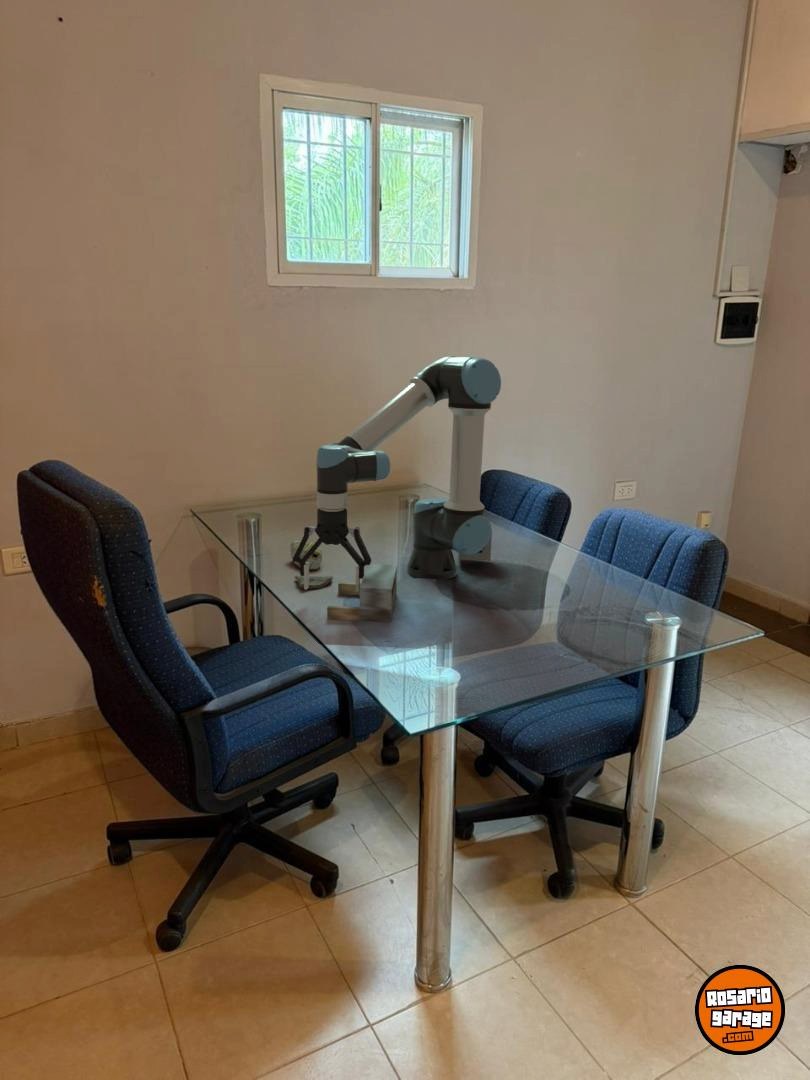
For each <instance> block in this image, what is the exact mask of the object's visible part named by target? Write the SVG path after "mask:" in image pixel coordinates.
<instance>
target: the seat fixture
mask: <svg viewBox="0 0 810 1080" xmlns="http://www.w3.org/2000/svg"><path fill="white" fill-rule="evenodd" d="M366 566H367V568H366V569H365V571H364V577H363V579H362V580H361V582H360V589H359V592H356V582H343V581H341V582H338V583H337V594H338V595H345V596H346V595H347V596H348V595H349V596H350V595H351V596H359V607H358V606H342V605H341V606H339V605H337V606H336V605H335V606H334V605H328V606H327V607H326V612H327V613H326V619H327V620H338V621H339V620H341V621H363V622H365V621H367V622H386V623H388V622H389V623H390V622H392V619H393V618H392V617H393V614H394V613H393V612H394V609H395V604H396V598H397V592H398V591H397V590H398V589H397V584H398V565H397V564H380V563H379V564H377V563H375V564H374V563H370V565H366Z"/></svg>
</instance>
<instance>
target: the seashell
mask: <svg viewBox="0 0 810 1080" xmlns="http://www.w3.org/2000/svg"><path fill="white" fill-rule="evenodd" d="M300 543H301V540H292V541H291V543H290V557H291V559H292V560H293V557H294V555H295V553H296V551H297V549H298V547H299V545H300ZM314 543H315V542H312V541H307V542H306V544H305V546H304V548H303V551H302V553H301V555H300V557H303V556H304V555H305V554H306V553H307V552H308V550H309V549H310V548H311V547H312V546H313V545H314ZM322 560H323V550H322V547H321V546H319V547H318V548H317V549H316V550H315V551H314V553H313V554H312V555H311V556H310V557H309V558H308V559H307V561H306V562H309V570H318V569H320V568H321V564H322ZM293 563H294V564H295V565H296V566H297V567H299V568H300V564H299V563H298V562H294V561H293Z"/></svg>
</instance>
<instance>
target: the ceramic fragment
mask: <svg viewBox="0 0 810 1080" xmlns="http://www.w3.org/2000/svg"><path fill="white" fill-rule="evenodd" d="M333 579H334V577H333V575H321V576H320V575H318V576H317V575H313V576H312V575H311V576H310V575H309V587H308V589H322V588H323V587H325V586H327V585H328V584H329V583H330V582H332V581H333ZM294 580H296V582H297V583H298V585H299V587H300V588H303V589H304V576H301V575H294Z"/></svg>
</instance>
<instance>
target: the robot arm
mask: <svg viewBox="0 0 810 1080" xmlns="http://www.w3.org/2000/svg"><path fill="white" fill-rule="evenodd" d="M501 386H502V379H501V374H500V371H499V369H498V368H497V367H496V366H495V364H494V362H492V361H491V360H488V359H486V358H483V357H482V358H481V357H476V356H473V357H471V356H470V357H469V356H453V355H451V356H450V355H448V356H444V357H442V358H439V359H437V360H435V361H433V362H432V363H430V364H429V365H427V366H426V367H424V368H423V369H422V370H420V371H419V372H418V373H416V375H414V376H413V377H412V378H411V379H410V380H409V385H408V386H406V387H405V388H404V389H403V390H402V391H400V392H399V393H397V395H395V396H394V397H392V399H391V400H389V401H388V402H387V403H386V404H385V405H383V406H382V407H381V408H379V410H377V411H376V412H375V413H373V414H372V415H371V416H370V417H369V418H367V419H366V420H365V421H364V422H363V423H361V424H360V425H359V426H357V427H356V428H355V429H354V430H352V432H350V433H349V434H348V435H347V436H345V437H344V438H343V439H341V440H340V441H339V442H331V443H328V444H326V445H321V446H320V447H318V449H317V451H316V452H317V455H316V463H315V465H316V507H317V509H316V526H312V525H310V524H306V526H305V527H304V529H303V537H302V538H301V540H300V541H301V543H300V545H299V547H298V549H297V551H296V553H295V555H294V557H293V559H292V561H293V563H294V562H298V563H299V564H300V567H299V576H304V588H303V589H304V590H308V589H309V588H308V587H309V576H310V569H309V562H306V561H307V559H308V558H309V557H310V556H311V555H312V554H313V553H314V551H315V550H316V549H317V548H318V547H321V545H322V543H323V544H325V545H328V546H329V545H334V546H335V545H336V546H338V545H341V547H343V549H345V551H346V552H347V553H348V554H349V555H350V557H351V558H352V560H353V561H354V562H355V564H356V566H355V583H356V592H359V589H360V583H361V579H362V580H363V577H364V575H365V566H368V565H370V564H372V558H371V555H370V554H369V551H368V549H367V547H366V545H365V542H364V540H363V538H362V536H361V530H360V527H359V526H356V527H351V528H349V526H348V509H347V507H348V486H349V485H348V484H353V483H363V482H364V483H365V482H377V481H381V480H385V479H386V478H388V476H389V475H390V473H391V461H390V457H389V455H388V454H387V452H385V451H383V450H375V449H377V448H378V447H379V446H380V445H382V444H383V443H384V442H385V441H387V439H389V438H390V437H392V435H394V434H395V433H396V432H397V431H398V430H400V429H401V428H402V427H404V425H406V424H407V423H408V422H410V421H411V420H412V419H413V418H414V417H415V416H416V415H418V414H419V413H420V412H421V411H422V410H424V409H425V408H426V407H428V408H429V407H430V408H431V407H433V406H434V405H435V404H437V403H438V402H440V401H442V400H447V399H448V401H447V403H448V405H447V408H448V409H449V410H450V411H451V413H452V415H453V417H452V432H451V433H452V434H451V435H452V436H451V437H452V438H451V453H450V474H449V475H450V477H449V491H448V492H449V493H448V494H449V495H448V498H444V497H442V498H440V497H439V498H425V499H419V500H418V501H416V502H415V504H414V507H413V543H412V544H413V545H412V551H411V554H410V556H409V560H408V562H407V564H406V572H407V573H408V575H409V576H411V577H412V578H414V579H419V580H420V579H423V580H425V579H426V580H445V581H447V580H450V579H452V578H454V577H456V576H457V570H458V569H457V564H456V560H455V558H454V553H453V551H454V552H456V553H457V552H458V553H464V554H469V555H470V554H475V553H477V552H479V551H481V550H482V549H483V547H484V546H486V544H487V543H488V541H489V539H490V536H491V529H492V523H491V522H490V521H489V518H488V517H486V516H485V505H484V504H483V503H482V502H481V500H480V499H481V497H480V496H481V483H482V482H481V480H482V462H483V451H484V450H483V448H484V432H485V431H484V430H485V429H484V428H485V416H486V414H487V413H488V412H489V411H490V410H491V408H492V402H494V401H495V400H496V399H497V396H498V395H499V394H500V391H501V389H502V388H501ZM313 533H315V534H316V535H317V537H318V539H317V540H316V541H315V542H313V543H314V545H313V546H312V547H311V548H310V549H309V550H308V552H307V553H306V554H305V555H304V556H303V557H300V555H301V553H302V551H303V548H304V546H305V544H306V542H308V540H309V538H310V536H312V535H313ZM349 534H350V535H351V537H353V538H354V541H355V543H356V545H357V547H358V550H359V552H360V554H361V555H360V554H359V553H358V552H357V550H356V549H355V548H354V547H353V545H352V544H351V543H350V541H349V539H348V538H347V536H348V535H349ZM452 550H453V551H452ZM458 553H457V554H458Z"/></svg>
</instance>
